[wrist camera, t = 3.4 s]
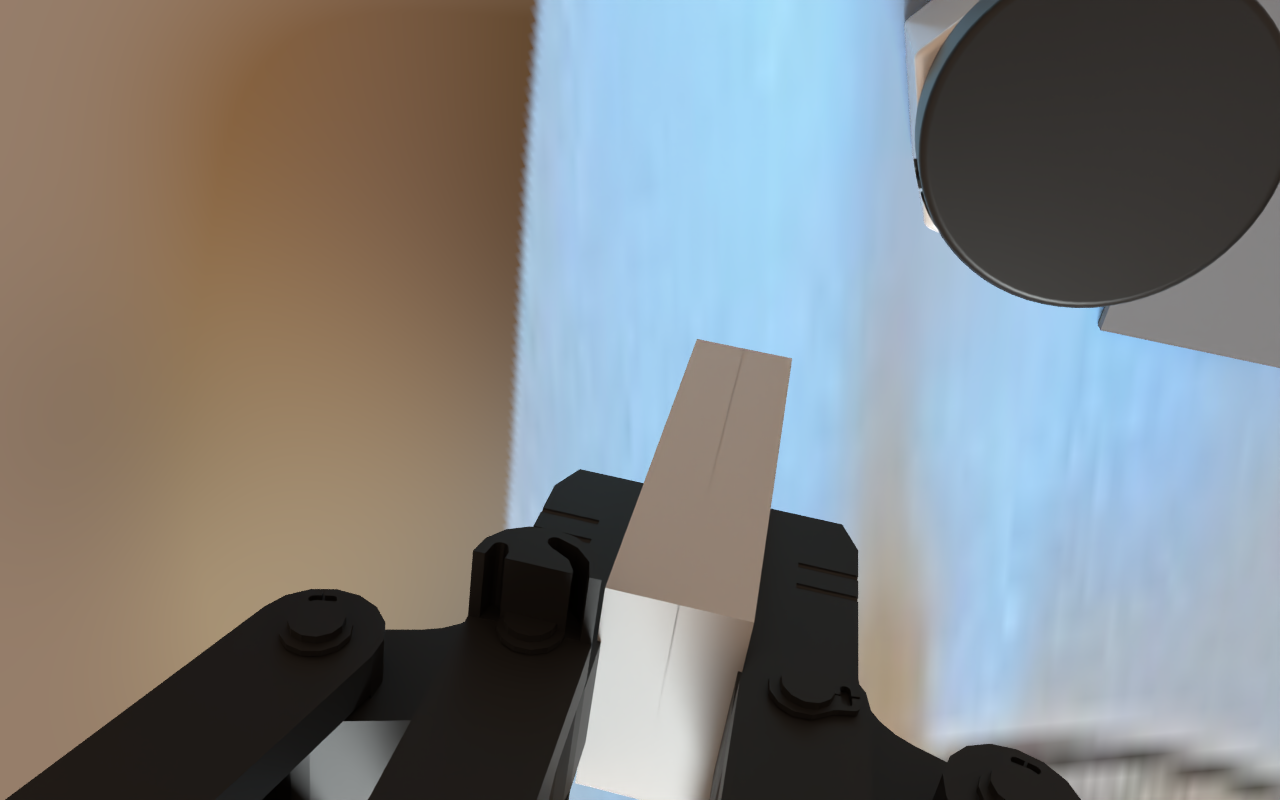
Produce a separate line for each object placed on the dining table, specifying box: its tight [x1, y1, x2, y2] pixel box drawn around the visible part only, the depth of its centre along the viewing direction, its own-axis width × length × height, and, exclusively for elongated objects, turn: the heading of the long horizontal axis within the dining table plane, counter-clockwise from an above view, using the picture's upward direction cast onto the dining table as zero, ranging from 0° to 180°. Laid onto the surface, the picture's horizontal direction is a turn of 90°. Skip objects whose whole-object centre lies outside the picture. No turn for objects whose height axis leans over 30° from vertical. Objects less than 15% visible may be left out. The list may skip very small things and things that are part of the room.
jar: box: [904, 0, 1280, 308], centre depth 29 cm, size 9×8×12 cm
